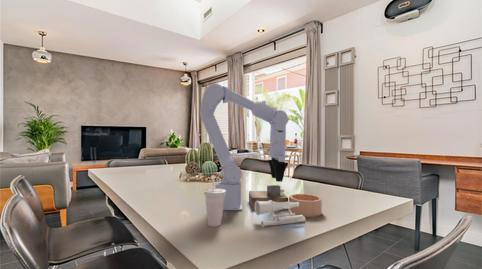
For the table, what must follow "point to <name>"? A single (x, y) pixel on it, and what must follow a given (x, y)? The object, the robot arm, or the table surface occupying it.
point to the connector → (274, 190)
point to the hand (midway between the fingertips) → (276, 179)
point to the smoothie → (214, 204)
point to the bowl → (306, 205)
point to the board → (265, 197)
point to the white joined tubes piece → (272, 206)
